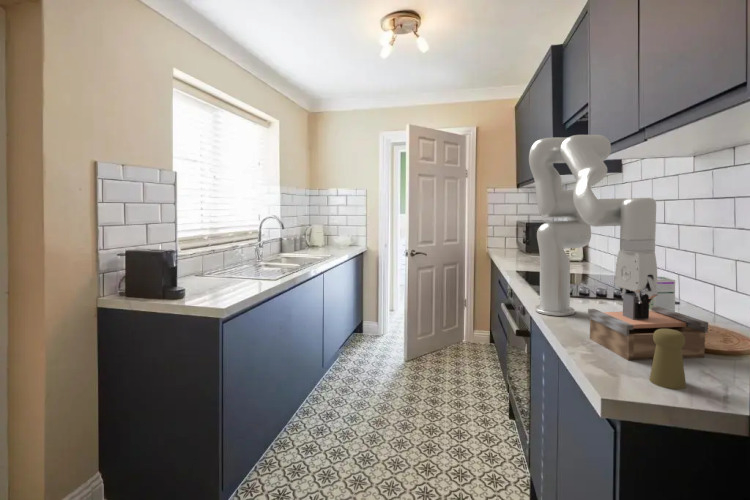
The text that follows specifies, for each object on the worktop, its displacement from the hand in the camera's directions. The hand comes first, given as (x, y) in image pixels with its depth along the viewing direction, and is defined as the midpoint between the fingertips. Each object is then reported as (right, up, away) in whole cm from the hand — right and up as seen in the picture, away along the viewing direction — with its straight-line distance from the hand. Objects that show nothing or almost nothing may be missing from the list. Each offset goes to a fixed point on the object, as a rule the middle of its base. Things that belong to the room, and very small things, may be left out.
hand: (635, 315), depth 101 cm
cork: (-8, -10, -22) cm, 26 cm away
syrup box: (+17, -6, +15) cm, 23 cm away
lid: (0, -2, 0) cm, 2 cm away
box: (0, -8, -2) cm, 8 cm away
